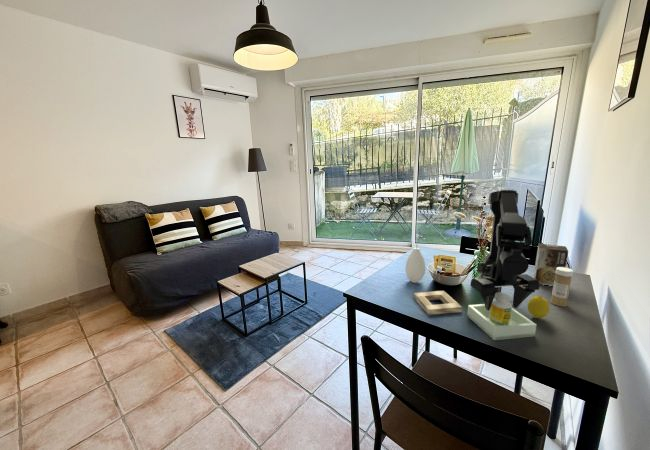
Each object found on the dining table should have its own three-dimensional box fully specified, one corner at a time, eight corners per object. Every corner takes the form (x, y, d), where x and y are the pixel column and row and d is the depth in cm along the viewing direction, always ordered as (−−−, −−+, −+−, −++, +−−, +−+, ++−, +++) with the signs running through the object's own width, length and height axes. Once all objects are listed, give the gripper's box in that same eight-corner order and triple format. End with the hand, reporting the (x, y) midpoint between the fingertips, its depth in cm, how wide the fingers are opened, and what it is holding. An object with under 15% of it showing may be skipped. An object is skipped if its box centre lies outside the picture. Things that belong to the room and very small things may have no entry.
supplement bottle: (494, 316, 91) (498, 289, 89) (512, 323, 87) (516, 296, 85) (485, 321, 88) (489, 294, 86) (503, 329, 84) (508, 301, 82)
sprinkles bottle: (568, 304, 99) (575, 269, 96) (563, 308, 97) (570, 272, 93) (553, 299, 103) (559, 265, 99) (547, 302, 100) (554, 268, 97)
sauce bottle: (413, 276, 125) (416, 238, 120) (428, 283, 118) (430, 243, 114) (401, 280, 121) (403, 241, 117) (415, 287, 114) (417, 246, 110)
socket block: (443, 295, 108) (443, 290, 107) (461, 311, 96) (461, 306, 95) (413, 297, 106) (414, 292, 106) (428, 314, 95) (428, 309, 94)
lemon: (548, 324, 88) (552, 302, 86) (526, 319, 91) (530, 297, 89) (545, 316, 92) (549, 294, 90) (525, 311, 95) (529, 290, 93)
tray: (502, 312, 95) (504, 302, 94) (534, 336, 82) (536, 324, 81) (467, 315, 94) (468, 305, 93) (493, 340, 81) (495, 328, 80)
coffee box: (559, 282, 115) (566, 246, 111) (561, 289, 110) (569, 250, 106) (532, 278, 120) (538, 242, 116) (533, 284, 115) (539, 247, 111)
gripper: (515, 251, 91) (509, 294, 95) (462, 254, 90) (458, 298, 93) (545, 263, 81) (536, 311, 84) (485, 268, 79) (479, 316, 83)
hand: (501, 308), depth 87 cm, fingers open, 9 cm apart
